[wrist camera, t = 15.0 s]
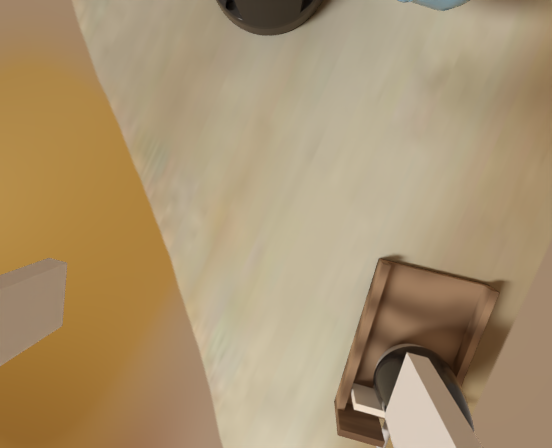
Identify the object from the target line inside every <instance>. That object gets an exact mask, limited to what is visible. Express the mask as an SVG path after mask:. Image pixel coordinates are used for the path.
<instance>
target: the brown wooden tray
mask: <svg viewBox="0 0 552 448" xmlns="http://www.w3.org/2000/svg"><path fill="white" fill-rule="evenodd" d="M498 295H499V292H498V291H496V290H495V289H493V288H492V287H490V286H489V285H485V284H481V283H477V282H473V281H469V280H465V279H461V278H457V277H453V276H449V275H445V274H441V273H437V272H432V271H428V270H424V269H420V268H416V267H412V266H408V265H404V264H400V263H396V262H392V261H388V260H384V259H380V258H379V260H378V263H377V266H376V269H375V273H374V276H373V279H372V282H371V286H370V289H369V292H368V295H367V298H366V302H365V305H364V308H363V311H362V314H361V318H360V321H359V324H358V327H357V330H356V334H355V337H354V340H353V343H352V346H351V350H350V353H349V356H348V359H347V363H346V366H345V369H344V372H343V375H342V379H341V382H340V385H339V388H338V391H337V395H336V398H335V401H334V403H335V413H336V423H337V433H338V435H339V436H343V437H346V438H350V439H353V440H357V441H360V442H364V443H367V444H371V445H374V446H378V447H381V448H383V446H384V443H385V440H384V436H383V433H382V429H381V425H380V422H379V418H381V419H385V418H383V417H379V416H376V415H372V414H368V413H365V412H361V411H358V410H354V407H353V402H352V396H351V388H352V385H353V383H355V384H358V385H362V386H366V387H369V388H373V389H374V387H373V375H374V371H375V369H376V365H377V362H378V360H379V359H380V357H381V356H382V354H383V353H384V352H385V351H387V350H388V349H390V348H391V347H393V346H396V345H400V344H415V345H419V346H422V347H424V348H427V349H430V350H432V351H434V352H436V353H437V354H439V355H440V356H441V357H442V358H443V359H444V360H445V361H446V362H447V364H448V365H449V366H450V368H451V369H452V371H453V373H454V374H455V376H456V378H457V380H458V382H459V384H460V386H461V385H462V383H463V380H464V378H465V375H466V373H467V371H468V368H469V366H470V363H471V361H472V358H473V356H474V354H475V351H476V349H477V346H478V344H479V341H480V339H481V337H482V334H483V332H484V329H485V327H486V324H487V322H488V320H489V317H490V315H491V312H492V310H493V307H494V305H495V303H496V300H497V298H498Z"/></svg>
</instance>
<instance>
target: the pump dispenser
mask: <svg viewBox="0 0 552 448" xmlns="http://www.w3.org/2000/svg"><path fill="white" fill-rule="evenodd" d="M407 352H408V353H412V354H415V355H419V356H423V357H427V358H429V360H430V362H431V363H432V365H433V366H434V368H435V370H436V371H437V373H438V375H439V376H440V378H441V379H442V381H443V383H444V384H445V386H446V388H447V389H448V391H449V393H450V394H451V396H452V397H453V399H454V401H455V402H456V404H457V406H458V407H459V409H460V410H461V412H462V414H463V415H464V417H465V419H466V420H467V422H468V424H469V425H470V427H471V428H472V430H473V432H474V427H473V422H472V418H471V414H470V411H469V408H468V404H467V401H466V399H465V396H464V393H463V391H462V389H461V386H460V384H459V382H458V380H457V378H456V376H455V374H454V373H453V371H452V369H451V368H450V366H449V365H448V364H447V362H446V361H445V360H444V359H443V358H442V357H441V356H440V355H439V354H437V353H436V352H434V351H432V350H430V349H427V348H424V347H422V346H419V345H415V344H400V345H396V346H393V347H391V348H390V349H388V350H387V351H385V352H384V353H383V354H382V356H381V357H380V359H379V360H378V362H377V365H376V369H375V371H374V375H373V387H374V391H375V394H376V397H377V399H378V402H379V404H380V405H381V407H382V409H383V411H384V413H385V412H386V409H387V406H388V404H389V401H390V398H391V395H392V392H393V390H394V387H395V384H396V381H397V378H398V376H399V373H400V370H401V367H402V364H403V362H404V359H405V356H406V353H407Z"/></svg>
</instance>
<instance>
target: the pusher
mask: <svg viewBox="0 0 552 448" xmlns="http://www.w3.org/2000/svg"><path fill="white" fill-rule="evenodd" d="M351 396H352V402H353V407H354V410H358V411H361V412H365V413H368V414H372V415H376V416H379V417H383V418H385V416H384V415H385V413H384V411H383V409H382V407H381V405H380V404H379V402H378V399H377V397H376V394H375V391H374V389H373V388H369V387H366V386H362V385H358V384H355V383H353V385H352V388H351ZM382 433H383V436H384V440H385V443H384V446H383V448H385V447H386V445H387V442H388V439H389V436H390V433H389V430H388V426H387V423H386V420H385V422H384V425H383V428H382ZM376 448H381V447H378V446H376Z"/></svg>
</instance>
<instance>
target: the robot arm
mask: <svg viewBox="0 0 552 448" xmlns="http://www.w3.org/2000/svg"><path fill="white" fill-rule="evenodd" d="M216 1H217V3H218V5H219V6H220V8H221V9H222V11H223V12H224V14H225V15H226V16H227V17H228V18H229V19H230V20H231V21H232V22H233V23H234V24H236V25H237V26H238V27H240V28H242V29H244V30H246V31H248V32H251V33H254V34H258V35H277V34H282V33H285V32H288V31H290V30H293V29H295V28H296V27H298V26H300V25H301V24H302V23H304V22H305V21H306V20H307V19H309V18H310V17H311V16H312V14H313V13H314V12H315V11H316V10H317V8H318V7H319V6H320V4H321V2H322V1H323V0H216ZM398 1H400V2H413V3H416V4H419V5H422V6H425V7H428V8H431V9H434V10H440V11H445V10H449V9H452V8H455V7H458V6H461V5H463V4H465V3H466V2H468V1H470V0H398ZM66 272H67V263H66V262H63V261H59V260H55V259H51V258H47V259H45V260H42V261H39V262H36V263H33V264H30V265H28V266H25V267H22V268H19V269H16V270H14V271H11V272H8V273H5V274H2V275H0V366H1V365H3V364H4V363H6V362H7V361H9V360H10V359H12V358H13V357H15V356H17V355H18V354H20V353H21V352H23V351H24V350H26V349H27V348H29V347H30V346H32V345H34V344H35V343H37V342H38V341H40V340H41V339H43V338H44V337H46V336H47V335H49V334H50V333H52V332H53V331H55V330H57V329H58V328H60V327H61V326H62V322H63V309H64V297H65V285H66ZM384 416H385V420H386V423H387V426H388V430H389V433H390V437H391V440H392V443H393V447H394V448H483V446H482V445H481V443H480V442H479V440H478V438H477V437H476V435H475V433H474V432H473V430H472V428H471V427H470V425H469V424H468V422H467V420H466V419H465V417H464V415H463V414H462V412H461V410H460V409H459V407H458V406H457V404H456V402H455V401H454V399H453V397H452V396H451V394H450V393H449V391H448V389H447V388H446V386H445V384H444V383H443V381H442V379H441V378H440V376H439V375H438V373H437V371H436V370H435V368H434V366H433V365H432V363H431V362H430V360H429V358H427V357H423V356H419V355H415V354H412V353H408V352H407V353H406V356H405V359H404V362H403V364H402V367H401V370H400V373H399V376H398V378H397V381H396V384H395V387H394V390H393V392H392V395H391V398H390V401H389V404H388V406H387V409H386V412H385V415H384Z"/></svg>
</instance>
